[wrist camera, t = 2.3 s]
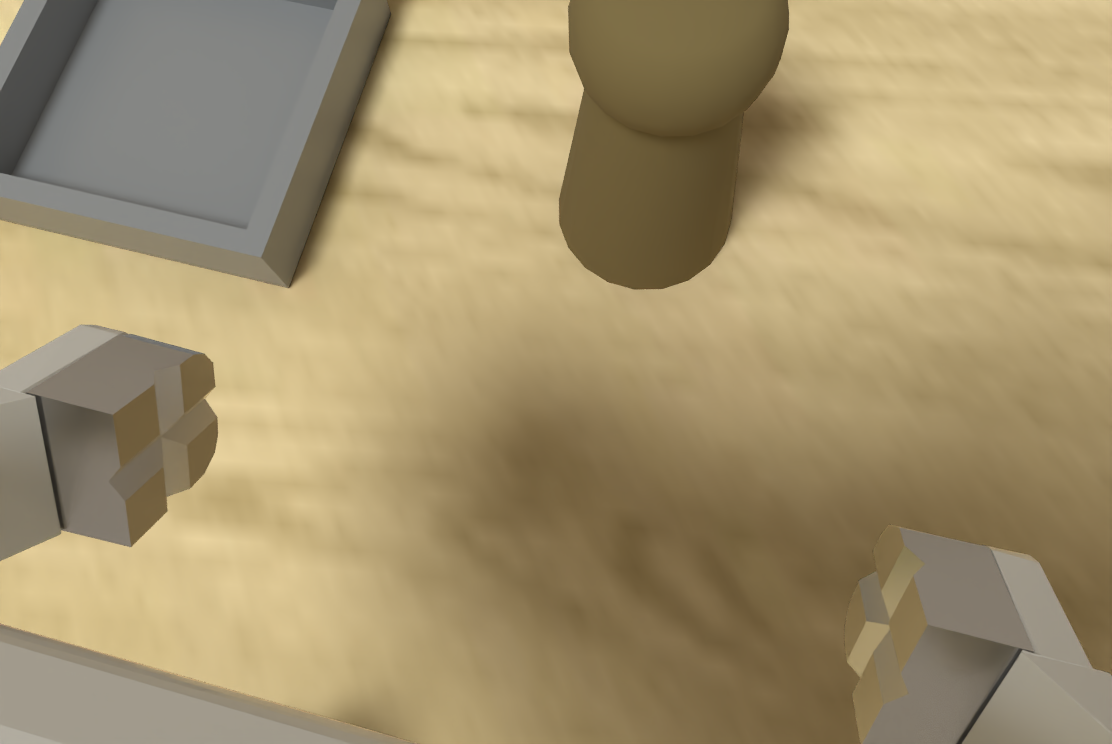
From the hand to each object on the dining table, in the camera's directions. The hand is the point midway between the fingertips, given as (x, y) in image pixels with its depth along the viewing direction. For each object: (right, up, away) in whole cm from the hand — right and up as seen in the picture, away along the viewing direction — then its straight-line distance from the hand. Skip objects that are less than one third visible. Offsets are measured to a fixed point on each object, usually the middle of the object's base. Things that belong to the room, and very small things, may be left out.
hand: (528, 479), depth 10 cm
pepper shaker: (+3, +7, +19) cm, 20 cm away
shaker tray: (-13, +11, +20) cm, 26 cm away
